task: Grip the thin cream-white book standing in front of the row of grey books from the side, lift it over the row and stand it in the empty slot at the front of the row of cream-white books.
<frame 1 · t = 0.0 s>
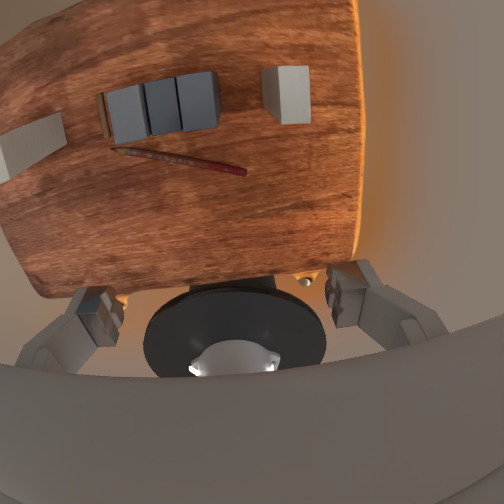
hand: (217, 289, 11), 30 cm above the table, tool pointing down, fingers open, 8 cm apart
grey books: (172, 101, 28), on the table
pencil: (177, 157, 37), on the table
white books: (104, 115, 32), on the table
white book: (271, 88, 33), on the table
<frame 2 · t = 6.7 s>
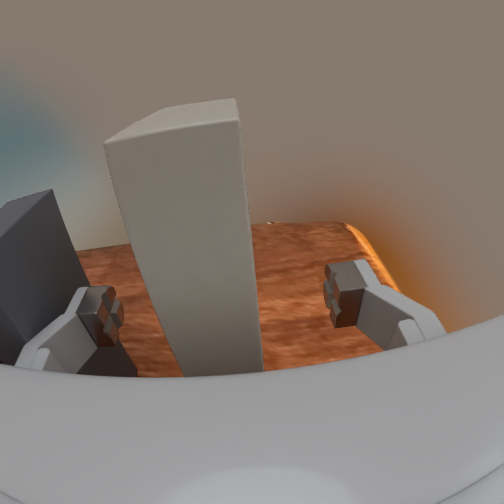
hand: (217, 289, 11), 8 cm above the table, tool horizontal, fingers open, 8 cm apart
grey books: (14, 335, 11), on the table
white book: (243, 403, 14), on the table
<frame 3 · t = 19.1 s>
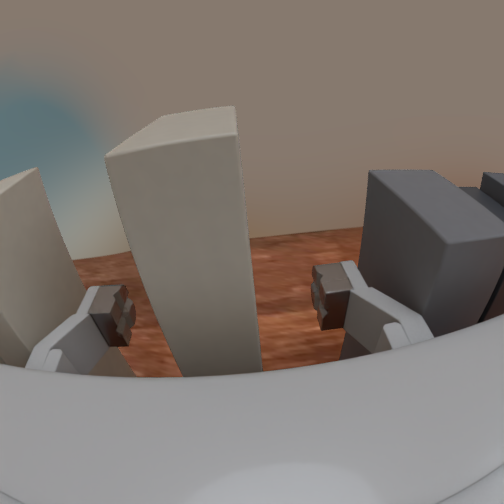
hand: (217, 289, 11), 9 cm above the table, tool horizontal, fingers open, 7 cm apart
grey books: (455, 309, 12), on the table
white books: (245, 411, 15), on the table
white book: (243, 405, 15), point 1 cm above the table, touching white books
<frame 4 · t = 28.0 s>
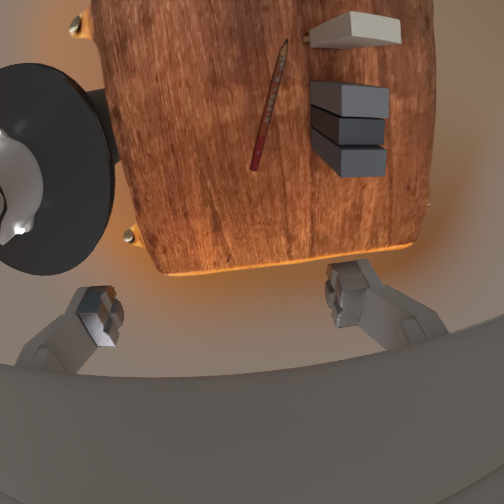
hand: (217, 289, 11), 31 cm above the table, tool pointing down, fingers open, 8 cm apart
grey books: (344, 122, 31), on the table
pencil: (269, 104, 35), on the table
white book: (328, 39, 30), point 1 cm above the table, touching white books
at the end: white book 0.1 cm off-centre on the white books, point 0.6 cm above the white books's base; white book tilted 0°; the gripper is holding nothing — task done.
